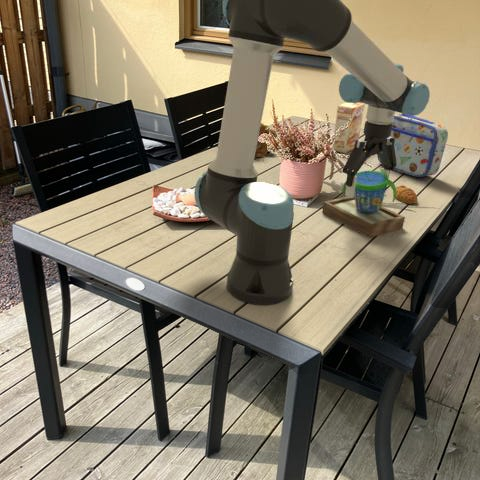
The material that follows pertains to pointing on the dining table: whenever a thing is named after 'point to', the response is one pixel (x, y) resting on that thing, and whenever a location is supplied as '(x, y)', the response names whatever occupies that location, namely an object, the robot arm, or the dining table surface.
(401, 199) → the pastry
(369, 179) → the snack cup
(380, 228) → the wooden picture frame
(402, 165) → the lunch box
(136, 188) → the dining table surface
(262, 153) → the stuffed squirrel
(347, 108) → the coffeecake box
